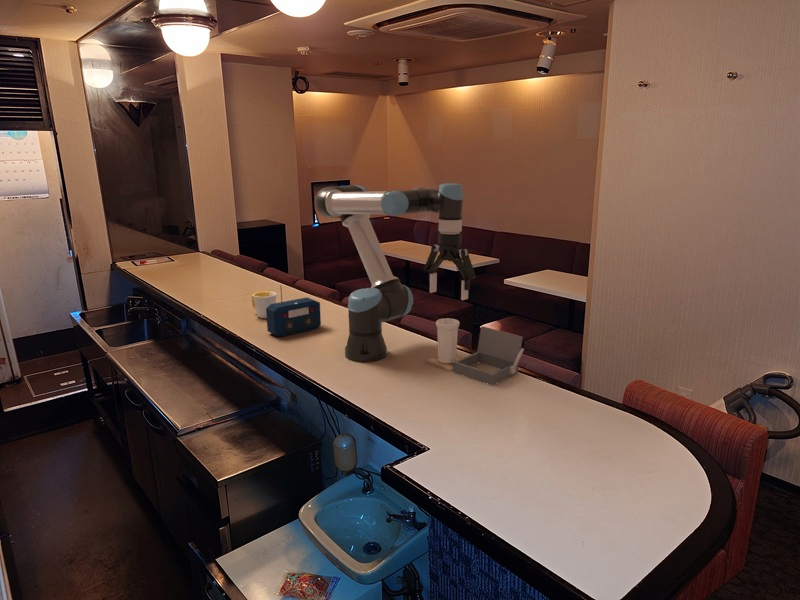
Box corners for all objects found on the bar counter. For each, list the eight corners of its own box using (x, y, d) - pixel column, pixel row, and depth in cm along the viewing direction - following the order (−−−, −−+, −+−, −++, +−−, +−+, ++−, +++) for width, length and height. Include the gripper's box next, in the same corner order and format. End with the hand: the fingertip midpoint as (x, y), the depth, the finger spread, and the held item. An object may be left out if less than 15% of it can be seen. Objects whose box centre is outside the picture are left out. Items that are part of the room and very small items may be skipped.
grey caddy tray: (496, 386, 169) (498, 349, 166) (453, 372, 180) (453, 336, 177) (523, 372, 180) (526, 337, 176) (481, 359, 191) (482, 325, 188)
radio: (276, 339, 213) (273, 289, 208) (266, 333, 220) (263, 285, 215) (322, 328, 226) (320, 281, 221) (311, 323, 233) (309, 278, 227)
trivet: (449, 371, 181) (449, 369, 181) (425, 363, 188) (425, 361, 188) (469, 362, 188) (470, 361, 188) (445, 354, 196) (445, 353, 196)
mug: (281, 317, 242) (280, 294, 239) (260, 321, 236) (258, 298, 233) (267, 310, 252) (266, 288, 250) (247, 314, 246) (245, 292, 243)
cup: (431, 358, 191) (432, 319, 187) (452, 355, 193) (453, 317, 190) (441, 366, 183) (441, 326, 180) (462, 363, 186) (463, 323, 182)
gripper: (488, 235, 171) (485, 300, 176) (428, 227, 188) (427, 287, 193) (474, 237, 166) (471, 304, 171) (414, 229, 182) (413, 291, 188)
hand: (448, 295), depth 182 cm, fingers open, 13 cm apart
